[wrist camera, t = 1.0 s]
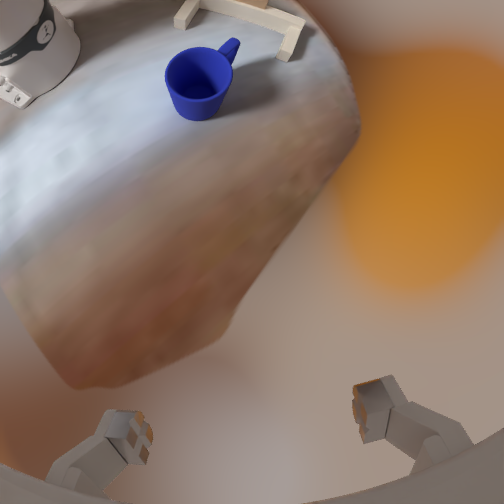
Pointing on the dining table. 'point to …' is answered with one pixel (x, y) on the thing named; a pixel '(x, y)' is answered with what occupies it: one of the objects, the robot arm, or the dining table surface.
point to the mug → (201, 79)
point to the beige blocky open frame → (248, 18)
